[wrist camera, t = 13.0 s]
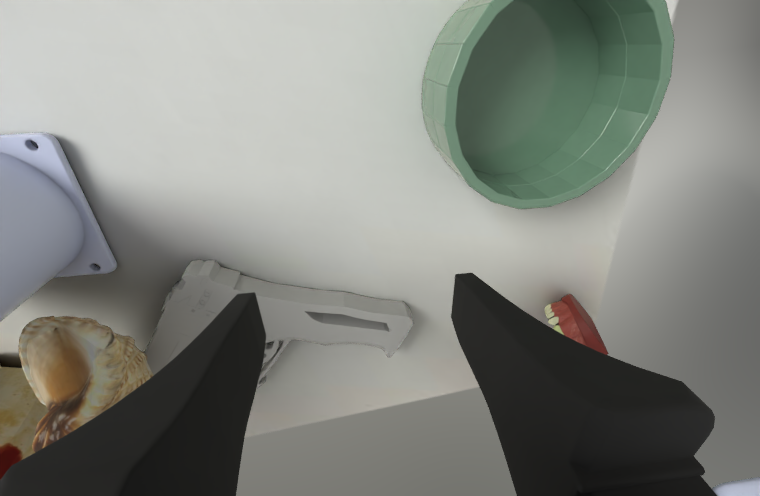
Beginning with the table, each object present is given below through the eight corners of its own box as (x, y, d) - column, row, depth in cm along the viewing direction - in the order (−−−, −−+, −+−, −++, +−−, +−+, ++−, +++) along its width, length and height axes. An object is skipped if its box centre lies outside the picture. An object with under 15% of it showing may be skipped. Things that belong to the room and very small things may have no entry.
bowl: (418, 183, 21) (438, 215, 17) (425, -24, 16) (455, -47, 12) (574, 173, 22) (627, 201, 18) (627, -26, 17) (716, -47, 13)
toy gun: (249, 498, 36) (82, 467, 30) (416, 307, 26) (212, 207, 20) (245, 519, 34) (68, 491, 28) (422, 324, 24) (202, 221, 18)
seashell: (-14, 521, 12) (62, 493, 20) (172, 421, 16) (176, 431, 24) (-63, 327, 14) (25, 371, 22) (116, 276, 18) (137, 329, 25)
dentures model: (559, 301, 22) (490, 385, 25) (623, 340, 21) (544, 422, 24) (554, 276, 27) (497, 349, 30) (606, 307, 26) (542, 379, 29)
